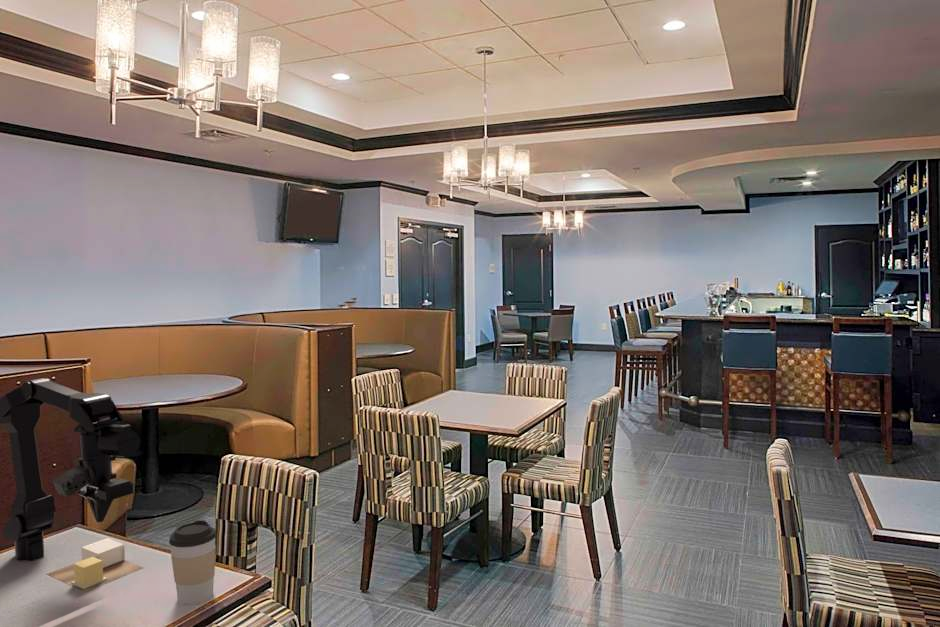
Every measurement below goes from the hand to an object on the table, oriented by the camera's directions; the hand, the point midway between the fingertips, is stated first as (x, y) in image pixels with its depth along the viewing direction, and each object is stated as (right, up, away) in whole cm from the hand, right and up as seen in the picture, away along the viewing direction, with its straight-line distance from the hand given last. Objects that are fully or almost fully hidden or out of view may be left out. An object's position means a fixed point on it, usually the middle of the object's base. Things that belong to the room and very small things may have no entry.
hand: (100, 521), depth 148 cm
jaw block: (0, -12, -4) cm, 12 cm away
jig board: (-2, -12, +2) cm, 13 cm away
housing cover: (-3, -11, +6) cm, 13 cm away
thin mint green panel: (0, -13, -4) cm, 13 cm away
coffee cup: (+25, -13, -9) cm, 29 cm away
